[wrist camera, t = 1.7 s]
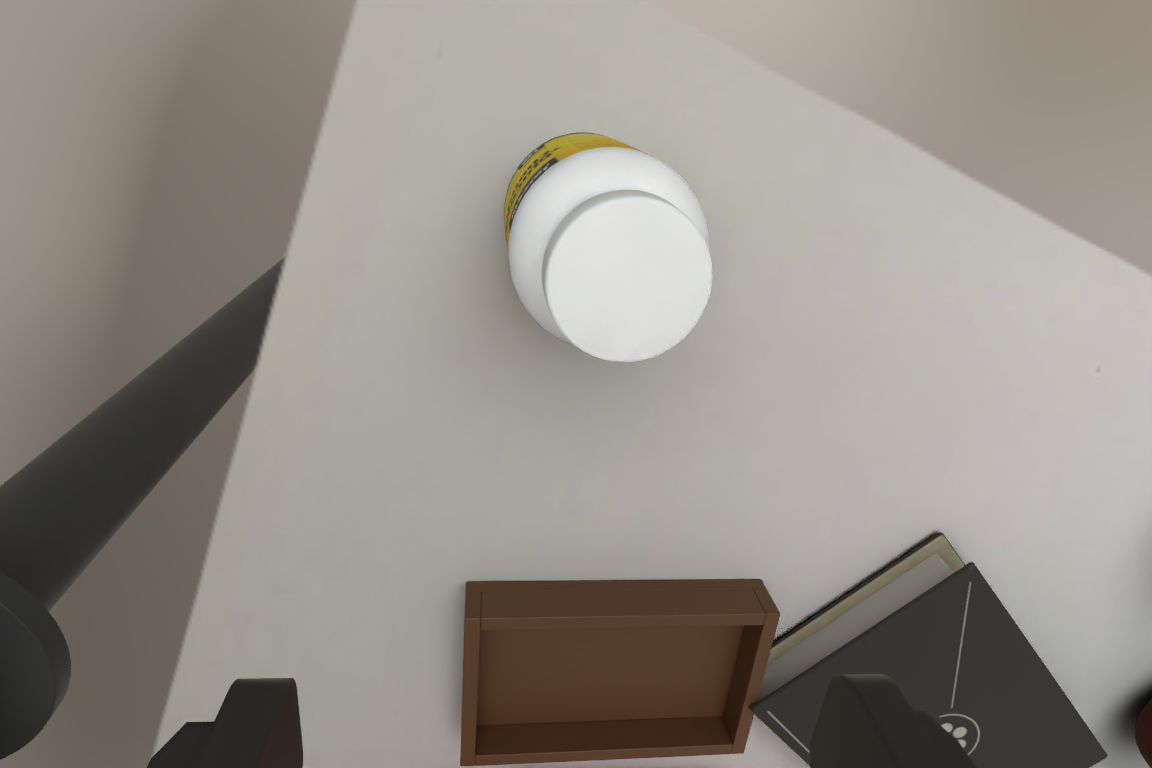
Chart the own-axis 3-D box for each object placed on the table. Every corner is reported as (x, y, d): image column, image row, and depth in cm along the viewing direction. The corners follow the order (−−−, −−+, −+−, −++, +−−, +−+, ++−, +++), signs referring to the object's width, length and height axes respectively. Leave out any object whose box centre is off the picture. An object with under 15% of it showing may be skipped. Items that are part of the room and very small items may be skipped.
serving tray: (462, 723, 40) (460, 766, 37) (466, 581, 36) (464, 618, 33) (728, 713, 42) (743, 753, 40) (761, 578, 38) (780, 613, 36)
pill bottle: (558, 97, 27) (603, 102, 16) (682, 189, 29) (793, 246, 18) (474, 234, 29) (465, 318, 18) (596, 312, 31) (653, 428, 20)
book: (728, 671, 41) (746, 713, 38) (940, 530, 38) (974, 563, 35) (890, 826, 49) (914, 869, 46) (1072, 717, 46) (1109, 757, 43)
